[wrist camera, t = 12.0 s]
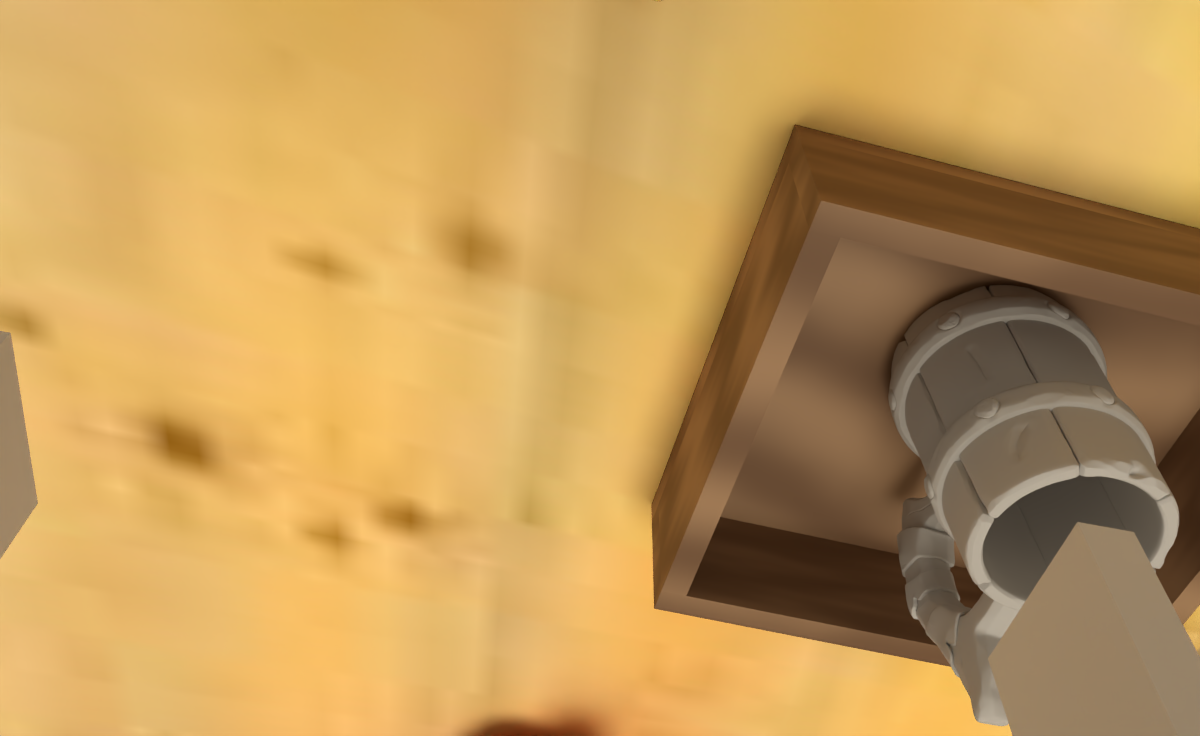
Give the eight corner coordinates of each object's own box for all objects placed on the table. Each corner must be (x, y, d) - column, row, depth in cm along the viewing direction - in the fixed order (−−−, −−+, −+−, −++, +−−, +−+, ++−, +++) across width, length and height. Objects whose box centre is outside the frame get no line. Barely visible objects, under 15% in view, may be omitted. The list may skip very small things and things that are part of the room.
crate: (795, 124, 36) (821, 200, 31) (1319, 260, 39) (1421, 350, 34) (651, 505, 46) (654, 608, 41) (1076, 593, 48) (1126, 701, 44)
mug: (1128, 307, 39) (1300, 534, 29) (972, 532, 45) (1068, 780, 35) (939, 250, 38) (1050, 466, 28) (807, 489, 44) (858, 734, 34)
